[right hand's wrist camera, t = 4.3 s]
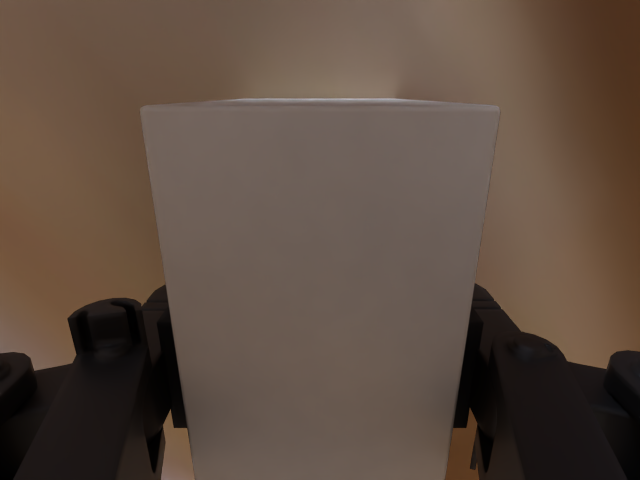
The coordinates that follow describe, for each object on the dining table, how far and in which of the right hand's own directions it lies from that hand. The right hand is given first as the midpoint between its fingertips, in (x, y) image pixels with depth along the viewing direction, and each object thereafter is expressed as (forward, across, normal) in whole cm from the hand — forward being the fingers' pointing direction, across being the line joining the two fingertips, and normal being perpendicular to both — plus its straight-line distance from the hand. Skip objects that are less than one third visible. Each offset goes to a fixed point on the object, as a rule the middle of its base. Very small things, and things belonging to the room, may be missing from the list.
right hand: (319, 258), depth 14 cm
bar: (+1, 0, -23) cm, 23 cm away
